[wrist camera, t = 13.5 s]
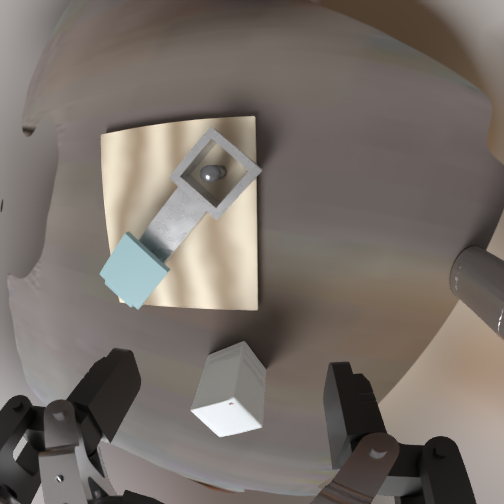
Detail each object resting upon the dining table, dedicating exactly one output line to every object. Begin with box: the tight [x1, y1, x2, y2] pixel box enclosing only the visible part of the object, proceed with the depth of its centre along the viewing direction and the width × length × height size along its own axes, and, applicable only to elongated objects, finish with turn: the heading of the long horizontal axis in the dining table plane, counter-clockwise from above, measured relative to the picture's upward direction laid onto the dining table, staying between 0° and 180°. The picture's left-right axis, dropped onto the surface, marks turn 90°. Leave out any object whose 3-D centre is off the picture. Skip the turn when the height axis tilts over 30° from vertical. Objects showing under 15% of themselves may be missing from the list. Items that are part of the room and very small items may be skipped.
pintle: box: [200, 165, 227, 183], centre depth 32 cm, size 2×2×8 cm
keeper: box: [100, 231, 170, 309], centre depth 36 cm, size 9×7×7 cm
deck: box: [101, 116, 258, 310], centre depth 37 cm, size 22×26×1 cm
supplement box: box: [191, 341, 266, 437], centre depth 38 cm, size 7×7×13 cm
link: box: [139, 127, 263, 265], centre depth 34 cm, size 19×8×4 cm, turn 138°
